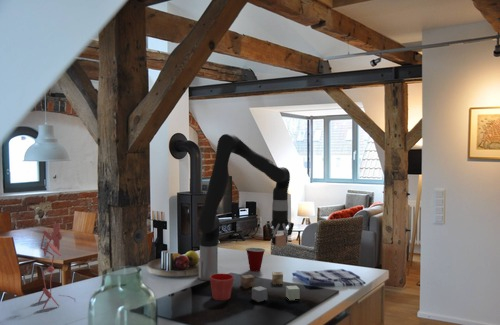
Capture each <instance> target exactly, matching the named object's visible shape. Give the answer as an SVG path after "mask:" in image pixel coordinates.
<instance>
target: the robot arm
mask: <svg viewBox="0 0 500 325" xmlns="http://www.w3.org/2000/svg"><path fill="white" fill-rule="evenodd" d="M231 154H235V155H236V156H237V155H238V156H240V157H242V158H243V159H245V160H246V162H248V163H249V165H251V166H252V167H253V168H255V169H256V170H258V171H259V172H262V173H263V174H264V175H265V176H267V177H268V178H269V179H270V180H271V181H274V182H275V187H273V189H272V191H273V192H272V203H271V204H272V205H271V206H272V207H271V209H272V211H271V222H266V223H265V228H266V232H267V235H268V236H269V237H271V243H272V245H273V246H274V245H275V235H276V234H278V231H282V234H284V235H285V236H286V244H288V237H289V236H292V233H293V229H294V226H295V225H294V224H295V223H294V222H292V221H291V222H289V220H288V219H289V217H288V216H289V203H288V195H289V194H288V192H289V190H288V189H289V186H290V181H291V173H290V170H289V169H288V168H287V167H283V166H282V167H279V166H277V165H275V164H274V162H273V161H272V160H271V159H270V158H268V157H266V156H264V155H263V154H261V153H260V152H257V151H256V150H254V149H253V148H251V147H250V146H248V145H247V144H246V143H245V142H244V141H243V140H241V139H240V138H239V137H238V136H236V135H235V134H229V133H224V134H222V135H221V136H220V137H219V139H218V141H217V146H216V152H215V158H214V163H213V167H212V171H211V175H210V178H209V182H208V185H207V190H206V194H205V199H204V204H203V206H202V210H201V212H200V215H199V218H198V220H197V221H198V222H197V227H198V229H199V231H200V232H201V233H202V234H201V237H200V239H199V259H198V278H199V280H200V281H210V276H211V275H213V274H219V273H218V264H219V263H218V262H219V261H218V256H219V255H218V254H219V252H218V250H219V248H218V247H219V244H218V243H219V239H220V218H219V217H218V215H217V212H218V208H219V206H220V204H221V202H222V200H223V198H224V196H225V194H226V192H227V188H228V185H229V180H230V178H229V177H230V176H229V160H230V157H231ZM287 227H288V229H287ZM271 228H272V230H271Z"/></svg>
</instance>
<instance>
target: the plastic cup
mask: <svg viewBox="0 0 500 325" xmlns="http://www.w3.org/2000/svg"><path fill="white" fill-rule="evenodd" d="M245 251H246V254H247V261H248V267H249V271H251V272H260V271H261V269H262V265H263V264H262V263H263V259H264V258H263V257H264V255H265V254H264V253H265V251H266V249H265V248H261V247H246V248H245Z"/></svg>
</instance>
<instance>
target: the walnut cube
mask: <svg viewBox="0 0 500 325" xmlns="http://www.w3.org/2000/svg"><path fill="white" fill-rule="evenodd" d="M255 283H256V280H255V276H254V275H251V274H245V275H244V274H243V275H241V276H240V286H241V287H242V288H244V289H250V288H249V287H252V288H254V287H256V286H255Z"/></svg>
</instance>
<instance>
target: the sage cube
mask: <svg viewBox="0 0 500 325" xmlns="http://www.w3.org/2000/svg"><path fill="white" fill-rule="evenodd" d="M300 290H301V289H300V288H299V287H298V285H286V286H285V298H286V297H287V298H288V299H289V300H288V299H287V298H286V299H287V300H288V301H296V300H295V299H300V297H301V295H300V292H301V291H300Z"/></svg>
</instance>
